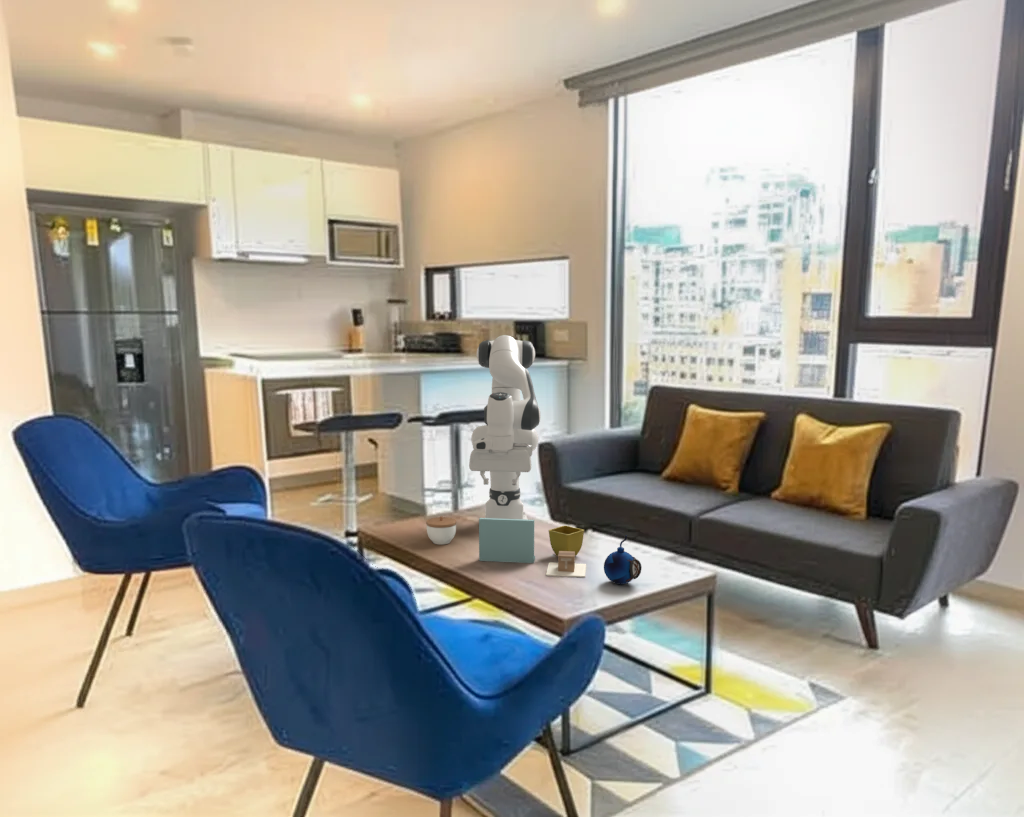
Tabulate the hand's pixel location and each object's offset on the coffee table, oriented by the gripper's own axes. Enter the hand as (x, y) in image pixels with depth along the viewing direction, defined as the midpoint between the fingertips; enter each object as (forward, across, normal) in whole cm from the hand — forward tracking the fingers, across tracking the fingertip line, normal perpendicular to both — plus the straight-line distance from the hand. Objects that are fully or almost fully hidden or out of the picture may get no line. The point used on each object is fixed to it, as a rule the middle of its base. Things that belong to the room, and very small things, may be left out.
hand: (500, 484), depth 240 cm
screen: (+25, -2, +1) cm, 25 cm away
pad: (+25, -22, +10) cm, 35 cm away
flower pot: (+25, -22, -6) cm, 34 cm away
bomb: (+25, -39, +20) cm, 50 cm away
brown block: (+24, -22, +10) cm, 34 cm away
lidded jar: (+26, +23, -16) cm, 38 cm away
